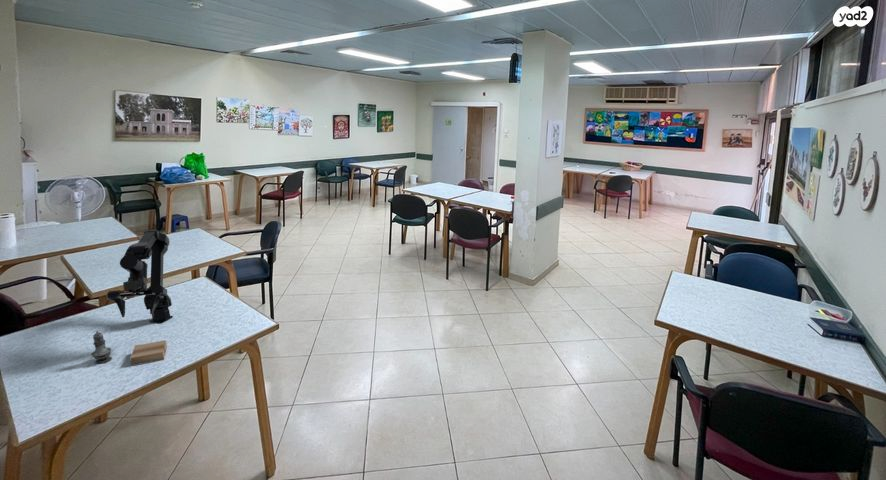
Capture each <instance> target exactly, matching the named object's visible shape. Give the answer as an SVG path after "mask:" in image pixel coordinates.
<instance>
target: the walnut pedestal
mask: <svg viewBox="0 0 886 480" xmlns="http://www.w3.org/2000/svg"><path fill="white" fill-rule="evenodd" d="M167 348H168V345H167V340H166V339H165V340H160V341H153V342H149V343H143V344H138V345H134V347H133V350H132V353H131V355H130V357H129V358H130V364H131V366H138V365H143V364H147V363H152V362H153V363H154V362H159V361H163V360H165V356H166V353H167Z"/></svg>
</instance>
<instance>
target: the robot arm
mask: <svg viewBox="0 0 886 480" xmlns="http://www.w3.org/2000/svg"><path fill="white" fill-rule="evenodd" d="M169 246H170V238H169V237H168V235H167V234H165V233H163V232H160V231H159V230H156V229H150V230H145V231H144V232H143V235H142V236H141V238H140V239H139V240H138V241H137V242H136V243H133V244H131V245H129V246H128V248H127V249H126V251H125V253H124V255H123V257H121V258H120V261H119V265H120V267H121V268H122V269H124V270H125V271H127V272H128V273H129V277H128V278H127V281H123V282H122V283H123V285H122V286H123V291H122V290H119V289H118V290H108V292H107V293H106V300H109V301H112V302H113V303H115V304H116V306H117V307H118V310H119V313H120V315H121V317H122V318H125V317H126V316H125V315H126V301H125V298H130V297H138V296H144V298H143V304H144V306H145V308H146V310H147V311H148V310H149V314H150V315H151V317H152V318H151V319H150V320H149V322H150V323H157V324H162V323H165V322H167V321H168V320H170V319H172V318H173V317H174V316H173V315H171V313H170V309H169V308H170V307H171V306H172V305H173V304H172V303H173V302H172V299H171V297H170V296H169V294H168V289H167V288H165V286H164V284H163V283H164V258H165V257H164V256H165V255H166V253H167V252H168V250H169ZM148 259H151V260H150V261H151V262H150V285H149V287H148V283H149V279H148V267H149V266H148V263H147V262H146V261H144V260H148ZM125 291H126V292H125Z"/></svg>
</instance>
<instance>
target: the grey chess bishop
mask: <svg viewBox="0 0 886 480" xmlns="http://www.w3.org/2000/svg"><path fill="white" fill-rule="evenodd" d="M92 337H93V343H92V344H93V345H94V348H95V350H94V351H92V353H91V356H92V357H93V358H94V360H95V361H94V364H95V365H103V364H107V363H109V362H111V361H112V360H113V357H112V356H110V355H111V353H112V348H110V347H107V346H106V340H105V338H104V335H103V333H102V332H99V331H98V330H96V332H95V334H93V335H92Z"/></svg>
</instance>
